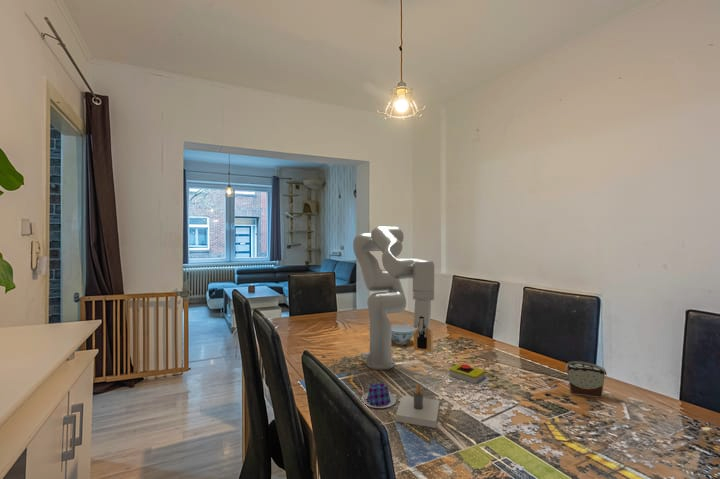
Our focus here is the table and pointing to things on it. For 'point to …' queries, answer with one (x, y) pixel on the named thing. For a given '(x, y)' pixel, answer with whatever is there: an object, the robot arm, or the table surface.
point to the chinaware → (402, 333)
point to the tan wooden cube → (429, 340)
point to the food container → (585, 378)
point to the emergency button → (468, 374)
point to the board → (418, 409)
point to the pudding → (379, 396)
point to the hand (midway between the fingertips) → (423, 344)
